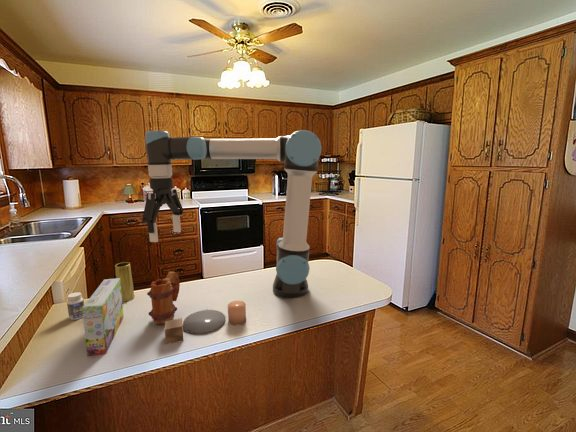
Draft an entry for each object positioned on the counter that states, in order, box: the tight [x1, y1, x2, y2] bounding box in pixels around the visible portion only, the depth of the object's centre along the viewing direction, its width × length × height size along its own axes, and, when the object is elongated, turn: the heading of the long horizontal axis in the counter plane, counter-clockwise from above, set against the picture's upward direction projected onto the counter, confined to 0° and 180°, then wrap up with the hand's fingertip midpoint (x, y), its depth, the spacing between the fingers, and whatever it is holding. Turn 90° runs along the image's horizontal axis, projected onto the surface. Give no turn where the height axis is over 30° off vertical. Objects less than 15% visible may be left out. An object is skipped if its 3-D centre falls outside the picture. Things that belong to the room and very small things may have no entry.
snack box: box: [82, 277, 125, 357], centre depth 95 cm, size 21×6×15 cm, turn 17°
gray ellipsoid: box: [182, 309, 226, 335], centre depth 103 cm, size 14×14×1 cm
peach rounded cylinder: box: [227, 300, 247, 326], centre depth 104 cm, size 6×6×6 cm
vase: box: [114, 261, 135, 303], centre depth 119 cm, size 6×6×14 cm
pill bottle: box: [66, 291, 85, 321], centre depth 106 cm, size 5×5×8 cm
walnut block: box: [164, 317, 184, 345], centre depth 94 cm, size 5×5×5 cm
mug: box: [146, 271, 181, 324], centre depth 105 cm, size 15×8×15 cm, turn 168°
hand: (166, 236), depth 108 cm, fingers open, 13 cm apart
